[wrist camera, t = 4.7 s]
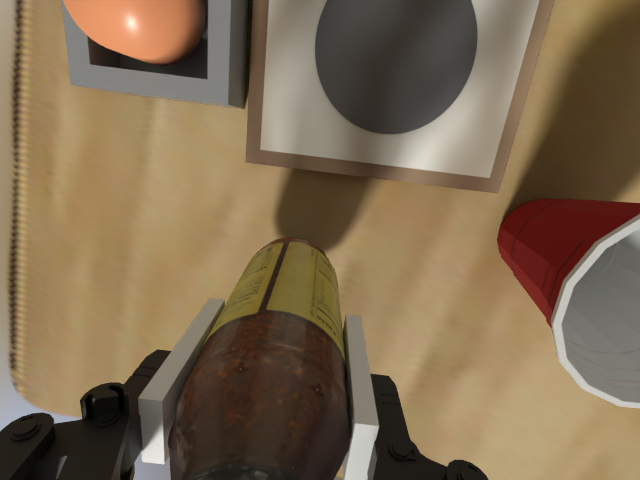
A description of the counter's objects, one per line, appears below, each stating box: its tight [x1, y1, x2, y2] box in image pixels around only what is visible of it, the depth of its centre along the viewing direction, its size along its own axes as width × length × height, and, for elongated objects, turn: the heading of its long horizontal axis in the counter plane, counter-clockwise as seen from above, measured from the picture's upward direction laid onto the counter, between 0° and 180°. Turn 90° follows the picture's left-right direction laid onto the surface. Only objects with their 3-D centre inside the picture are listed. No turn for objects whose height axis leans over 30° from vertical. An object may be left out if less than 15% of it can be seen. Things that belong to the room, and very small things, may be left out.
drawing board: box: [246, 0, 555, 193], centre depth 21 cm, size 18×16×1 cm
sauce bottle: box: [168, 237, 351, 480], centre depth 14 cm, size 6×6×20 cm
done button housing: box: [62, 0, 249, 109], centre depth 20 cm, size 9×9×4 cm
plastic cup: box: [497, 198, 640, 408], centre depth 20 cm, size 11×11×12 cm
